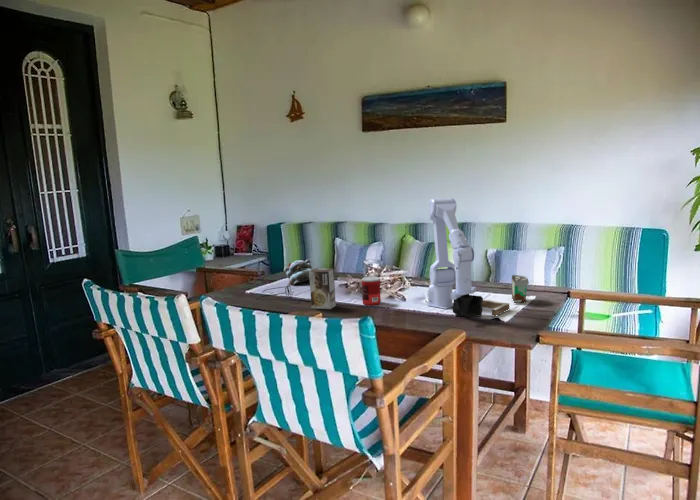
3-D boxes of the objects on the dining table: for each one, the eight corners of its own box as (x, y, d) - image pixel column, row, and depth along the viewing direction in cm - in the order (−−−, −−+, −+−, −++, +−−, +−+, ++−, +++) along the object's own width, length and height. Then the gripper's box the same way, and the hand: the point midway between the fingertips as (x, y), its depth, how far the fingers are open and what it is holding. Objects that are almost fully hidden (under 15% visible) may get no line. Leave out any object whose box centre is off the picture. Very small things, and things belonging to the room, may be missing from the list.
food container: (530, 305, 213) (530, 281, 211) (514, 305, 214) (514, 281, 212) (526, 297, 224) (526, 274, 223) (511, 297, 226) (511, 274, 224)
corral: (456, 309, 210) (456, 303, 210) (471, 303, 218) (471, 297, 218) (495, 316, 199) (495, 309, 198) (509, 310, 207) (509, 303, 206)
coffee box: (336, 305, 225) (334, 268, 222) (330, 309, 219) (329, 271, 216) (316, 304, 228) (314, 267, 225) (310, 308, 222) (308, 270, 219)
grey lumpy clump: (287, 286, 265) (279, 260, 269) (292, 290, 277) (285, 265, 280) (315, 276, 265) (307, 251, 268) (319, 281, 276) (311, 256, 280)
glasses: (287, 299, 241) (285, 289, 240) (255, 304, 241) (253, 293, 240) (291, 292, 255) (289, 282, 254) (261, 296, 255) (259, 286, 255)
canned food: (383, 301, 228) (382, 276, 226) (376, 306, 220) (375, 280, 219) (367, 300, 231) (366, 276, 229) (359, 305, 224) (358, 279, 222)
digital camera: (451, 311, 200) (453, 293, 202) (454, 313, 205) (456, 296, 207) (479, 313, 196) (480, 295, 197) (481, 315, 201) (483, 297, 202)
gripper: (462, 283, 188) (462, 320, 191) (483, 276, 199) (483, 311, 201) (445, 281, 193) (446, 317, 195) (466, 274, 204) (466, 308, 206)
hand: (463, 314), depth 198 cm, fingers closed
